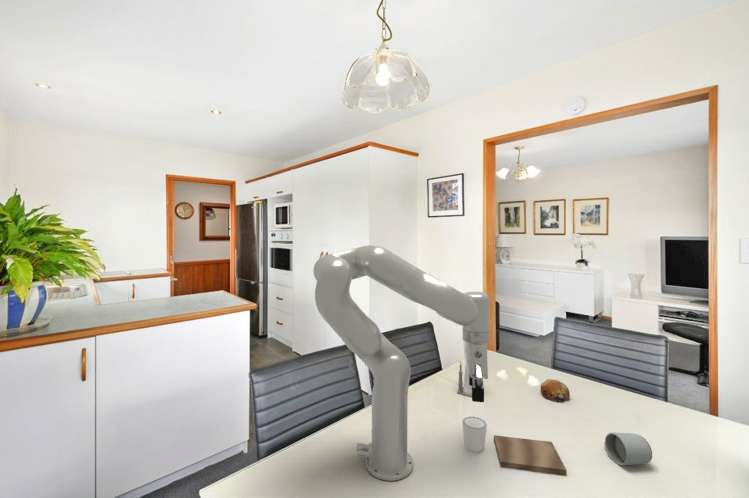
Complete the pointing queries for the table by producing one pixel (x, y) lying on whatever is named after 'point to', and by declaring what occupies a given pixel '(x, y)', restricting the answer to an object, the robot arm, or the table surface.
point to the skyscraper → (466, 388)
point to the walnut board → (528, 455)
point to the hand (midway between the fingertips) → (476, 393)
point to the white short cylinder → (474, 433)
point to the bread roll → (555, 390)
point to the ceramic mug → (628, 448)
